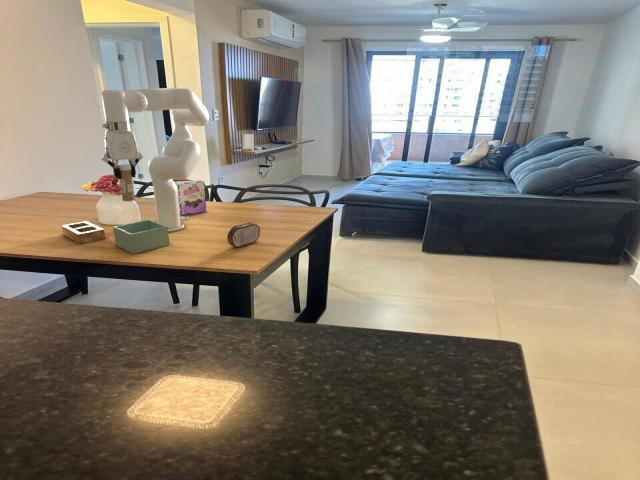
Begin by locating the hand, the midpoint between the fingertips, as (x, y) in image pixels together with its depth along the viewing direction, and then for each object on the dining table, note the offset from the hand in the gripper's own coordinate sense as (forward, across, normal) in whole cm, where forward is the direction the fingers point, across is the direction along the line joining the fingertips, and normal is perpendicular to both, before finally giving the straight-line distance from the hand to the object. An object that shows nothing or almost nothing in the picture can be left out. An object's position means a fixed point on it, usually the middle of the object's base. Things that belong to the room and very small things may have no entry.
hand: (125, 177), depth 142 cm
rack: (+26, -10, +23) cm, 36 cm away
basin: (+26, +1, -4) cm, 26 cm away
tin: (+26, +29, -32) cm, 51 cm away
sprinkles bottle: (+9, 0, 0) cm, 9 cm away
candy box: (+27, +42, +26) cm, 56 cm away
